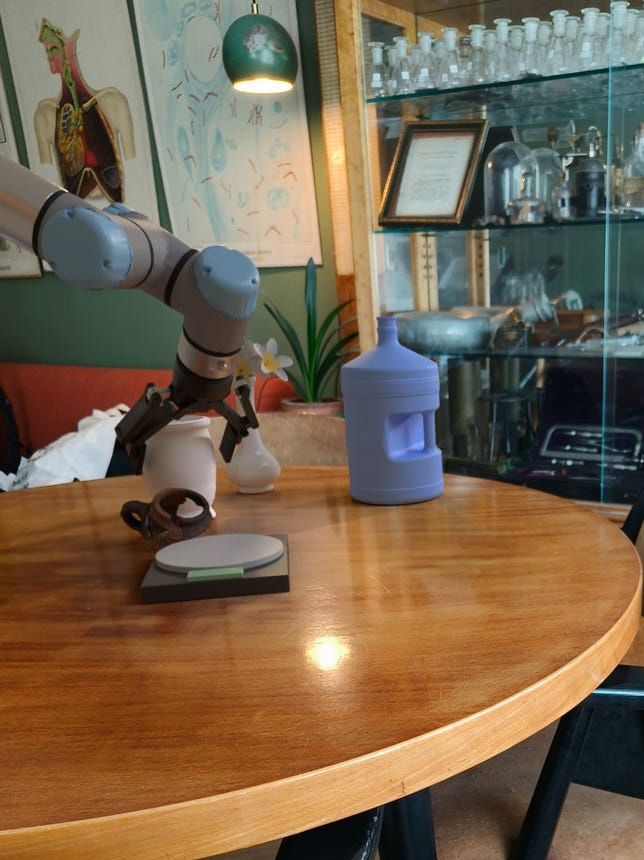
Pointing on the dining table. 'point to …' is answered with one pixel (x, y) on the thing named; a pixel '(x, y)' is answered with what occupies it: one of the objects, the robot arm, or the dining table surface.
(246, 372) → the flower vase
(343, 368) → the water jug
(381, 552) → the dining table surface
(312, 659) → the dining table surface
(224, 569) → the scale
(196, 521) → the pottery mug
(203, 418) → the jar
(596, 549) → the dining table surface
